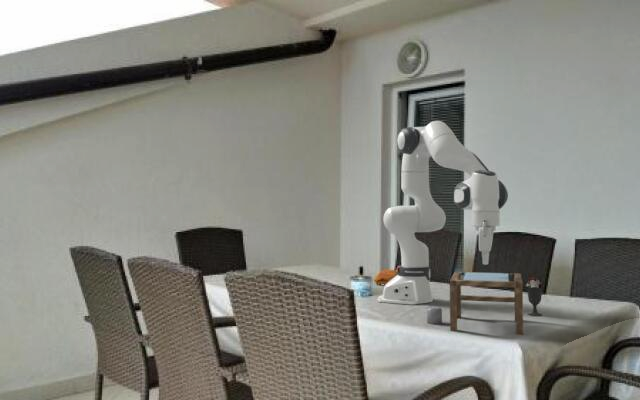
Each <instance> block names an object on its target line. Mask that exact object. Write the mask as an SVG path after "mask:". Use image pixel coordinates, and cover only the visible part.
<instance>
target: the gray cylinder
mask: <svg viewBox="0 0 640 400" xmlns="http://www.w3.org/2000/svg"><path fill="white" fill-rule="evenodd" d="M426 323H427V324H429V325H441V324H443V307H440V306H428V307H427V308H426Z"/></svg>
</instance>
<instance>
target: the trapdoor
mask: <svg viewBox="0 0 640 400" xmlns="http://www.w3.org/2000/svg"><path fill="white" fill-rule="evenodd" d="M509 277H510V276H509V273H504V272H478V271H477V272H476V271H473V272H467V271H466V272H464V275H463V279H462V280H478V281H510V279H509Z"/></svg>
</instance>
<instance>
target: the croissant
mask: <svg viewBox="0 0 640 400" xmlns="http://www.w3.org/2000/svg"><path fill="white" fill-rule="evenodd" d="M397 275H398V274H397V269H383V270H381V271H380V272H379V273H376V275H375V276H374V283H375V282H376V283H375V284H384V285H386V284H387V283H388V282H389V281H390V280H391V279H393V278H394V277H395V276H397ZM384 285H383V286H384Z"/></svg>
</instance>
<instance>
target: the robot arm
mask: <svg viewBox="0 0 640 400" xmlns="http://www.w3.org/2000/svg"><path fill="white" fill-rule="evenodd" d="M396 145H397V148H398V150H399V152H401V154H402V160H401V169H400V170H401V176H400V177H401V178H400V179H401V180H400V181H401V183H400V184H401V185H400V187H401V191H402V192H403V194H405V195H406V196H408V197H410V198H411V199H413V200H414V205H397V206H396V205H395V206H391V207H388V208H387V209H386V210H385V212H384V214H383V220H382V221H383V224H384V227H385V228H386V230H387V231H388V232H390V233H391V234H392V235H393V236H394V237H395V238H396V240H397V242H398V245H399V249H400V257H401V258H400V260H401V265H398V266H397V267H396V270H397V274H398V275H397V276H395V277H394V278H393V279H391V280H390V281H389V282H388V283H387V284H386V285H385V286H384V285H383V286H384V287H383V291H382V295H379V296H378V297H377V302H378V303H389V304H397V305H398V304H400V305H402V304H403V305H419V304H428V303H432V302H433V301H434V298H433V295H432V289H431V284H430V280H431V267H430V261H429V257H430V256H429V255H430V253H429V252H430V251H429V247H428V246H427V245H426V243H424V242H422V241H420V240H418V239H417V237H416V235H415V233H432V232H436V231H440V230H441V229H443V228H444V226H445V224H446V219H447V217H446V213H445V211H444V209H443V208H442V207H441V206H439V205H438V204H437V203H436V201H435V200H434V198H433V196H432V194H431V189H430V164H429V163H430V162H429V161H430V157H431V158H432V159H433V161H434V162H435V163H436V164H438V166H441V167H443V168H447V169H451V170H457V171H461V172H463V173H466V174H468V175H470V177H469V178H467V179H465V180H463V181H462V182H459V183H457V184H456V186H455V187H454V189H453V193H452V195H453V196H452V197H453V202H454V204H455V205H456V206H457V208H458V209H460V210H467V211H468V210H469V211H470V210H471V212H470V214H471V215H470V216H471V217H470V218H471V219H470V220H471V221H470V222H471V227H475V230H474V231H476V232H478V251H479V252H481V259H482V260H481V261H482V265H486V266H487V265H489V261H490V252H491V250H492V246H493V239H494V232H496V227H498V226H501V225H500V224H501V223H500V214H501V213H500V210H501V209H502V208H503V207H504V206H505V204H506V203H507V201H508V198H509V192H508V189H507V188H506V186H505V184H504V183H503V182H502V181H501V180H500V179H498V174H497V173H496V172H494V171H493V170H489V168H488V167H487V166H486V165H485V164H484V163H483V162H482V160H481V159H480V158H479V156H477V155H476V154H475V153H473V152H472V151H471V150H469V149H468V148H467V147H465V146H464V145H463V144H462V143H461V142H460V140H459V139H458V137H457V136H456V135H455V133H454V132H453V130H452V129H451V128H450V127H449V126H448V125H447V124H446V122H444V121H442V120H433V121H431V122H429V123H428V124H427V125H425V126H424V125H423V126H414V127H412V126H409V127H404V128H402V129H401V130H400V131H399V132H398V134H397V137H396Z"/></svg>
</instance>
